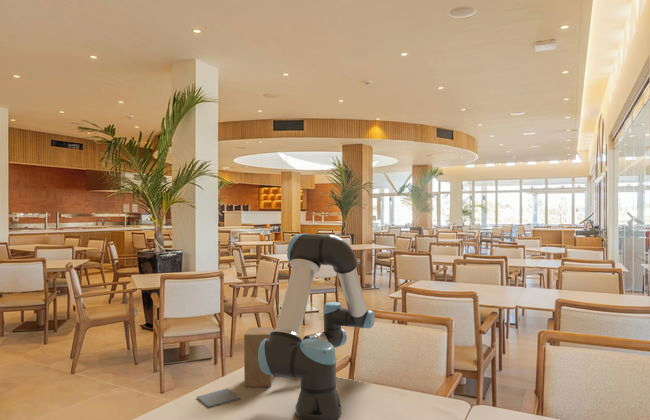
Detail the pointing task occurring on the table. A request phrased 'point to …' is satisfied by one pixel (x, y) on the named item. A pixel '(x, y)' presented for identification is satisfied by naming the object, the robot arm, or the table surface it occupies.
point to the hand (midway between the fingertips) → (271, 353)
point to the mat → (218, 398)
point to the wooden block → (255, 358)
